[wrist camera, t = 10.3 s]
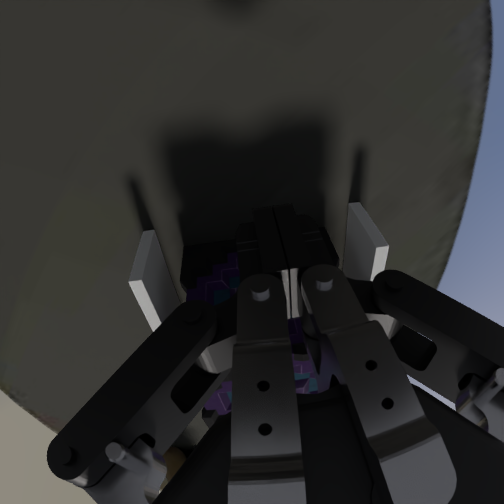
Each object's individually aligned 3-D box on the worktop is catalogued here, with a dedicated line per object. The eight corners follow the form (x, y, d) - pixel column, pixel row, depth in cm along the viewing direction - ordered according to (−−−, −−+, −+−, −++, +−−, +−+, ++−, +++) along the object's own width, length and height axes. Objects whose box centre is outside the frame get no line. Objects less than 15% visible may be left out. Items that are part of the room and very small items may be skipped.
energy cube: (324, 226, 27) (374, 340, 18) (319, 317, 34) (347, 415, 25) (183, 246, 27) (171, 370, 17) (211, 332, 34) (213, 434, 25)
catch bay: (143, 231, 25) (128, 281, 21) (359, 202, 25) (389, 245, 21) (192, 354, 37) (191, 398, 32) (341, 333, 37) (355, 375, 32)
